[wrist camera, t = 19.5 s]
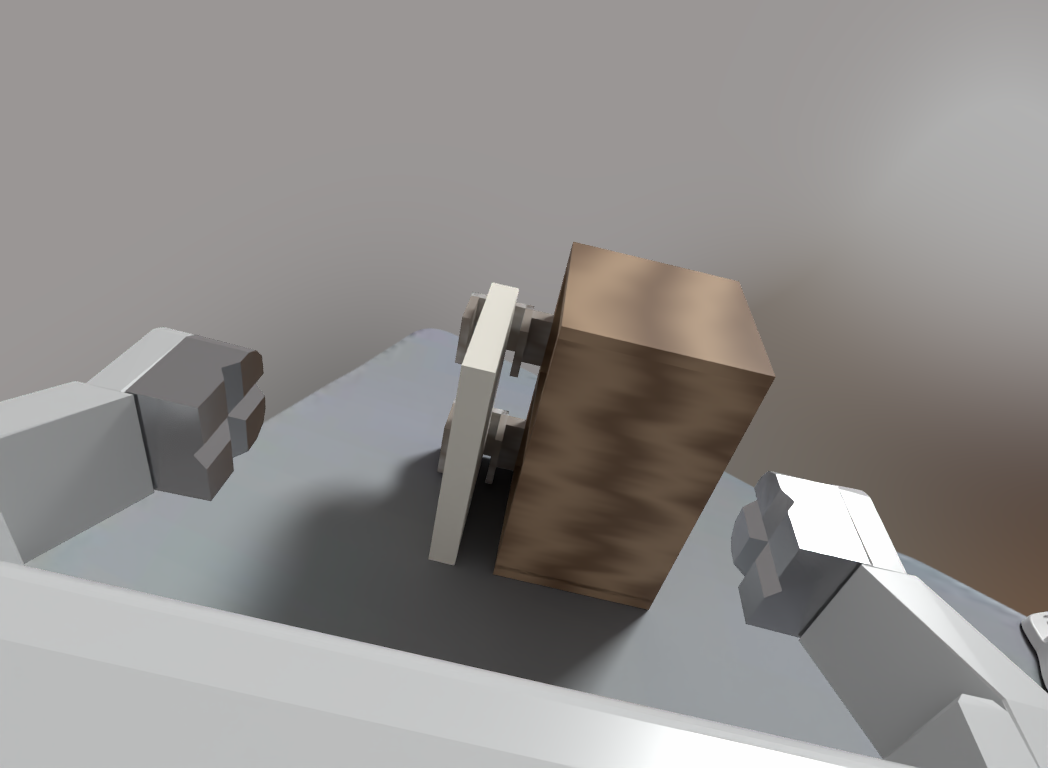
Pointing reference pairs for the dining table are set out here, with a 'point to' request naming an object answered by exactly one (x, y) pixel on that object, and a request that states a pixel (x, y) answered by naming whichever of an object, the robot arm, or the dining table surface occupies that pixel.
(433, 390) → the dining table surface
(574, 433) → the cabinet
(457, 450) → the door
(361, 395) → the dining table surface
